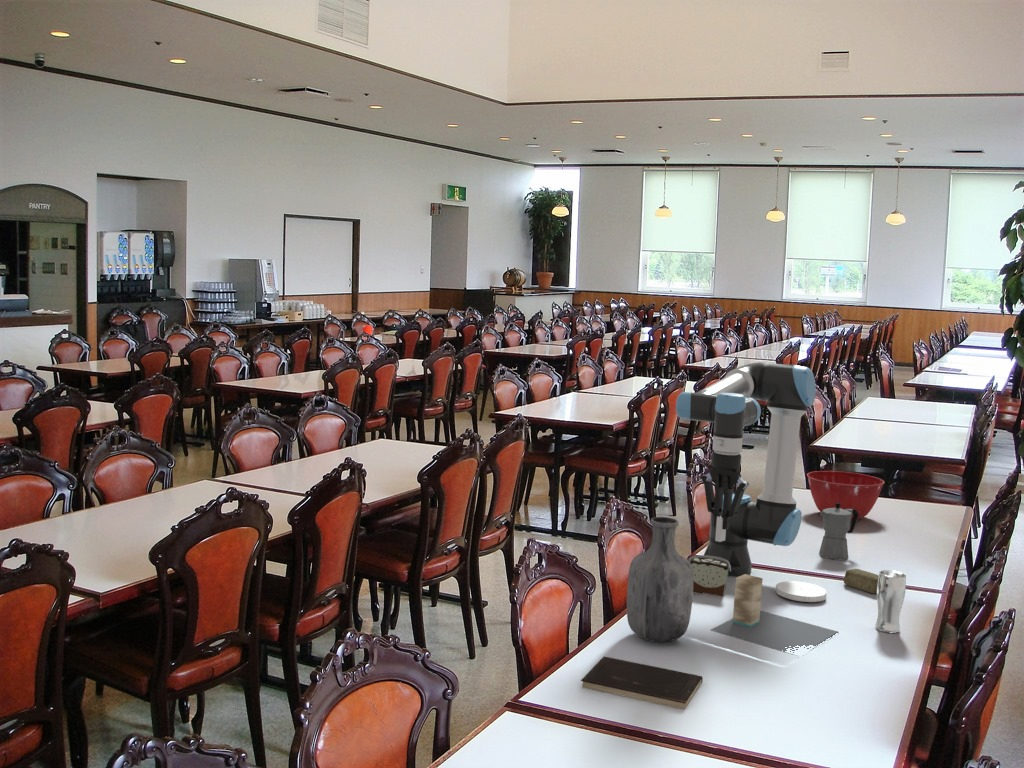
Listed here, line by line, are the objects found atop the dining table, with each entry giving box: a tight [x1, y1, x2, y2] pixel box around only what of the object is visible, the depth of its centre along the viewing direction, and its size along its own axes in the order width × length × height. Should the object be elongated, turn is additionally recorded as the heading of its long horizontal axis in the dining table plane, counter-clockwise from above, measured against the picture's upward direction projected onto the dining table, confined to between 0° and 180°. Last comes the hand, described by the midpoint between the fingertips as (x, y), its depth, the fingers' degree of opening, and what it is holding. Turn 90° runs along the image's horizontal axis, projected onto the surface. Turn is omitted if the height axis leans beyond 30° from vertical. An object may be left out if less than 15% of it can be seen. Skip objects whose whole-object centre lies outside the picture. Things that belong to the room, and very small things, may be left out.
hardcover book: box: [580, 655, 703, 710], centre depth 224 cm, size 16×23×2 cm
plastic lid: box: [775, 580, 828, 603], centre depth 292 cm, size 14×14×2 cm
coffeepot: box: [818, 503, 859, 560], centre depth 336 cm, size 15×9×18 cm, turn 113°
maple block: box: [732, 574, 763, 627], centre depth 265 cm, size 5×5×12 cm
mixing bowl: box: [806, 470, 885, 521], centre depth 393 cm, size 28×28×15 cm
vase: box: [626, 516, 694, 643], centre depth 251 cm, size 16×16×30 cm
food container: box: [688, 554, 731, 597], centre depth 291 cm, size 12×6×10 cm, turn 65°
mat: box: [710, 610, 839, 653], centre depth 261 cm, size 24×24×1 cm
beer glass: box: [874, 569, 907, 633], centre depth 267 cm, size 7×7×15 cm
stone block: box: [843, 568, 879, 595], centre depth 302 cm, size 6×12×5 cm, turn 36°
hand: (720, 540), depth 269 cm, fingers closed
